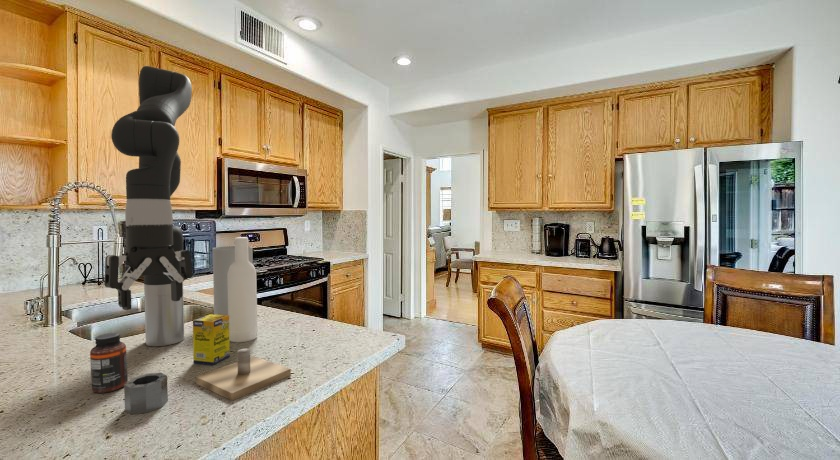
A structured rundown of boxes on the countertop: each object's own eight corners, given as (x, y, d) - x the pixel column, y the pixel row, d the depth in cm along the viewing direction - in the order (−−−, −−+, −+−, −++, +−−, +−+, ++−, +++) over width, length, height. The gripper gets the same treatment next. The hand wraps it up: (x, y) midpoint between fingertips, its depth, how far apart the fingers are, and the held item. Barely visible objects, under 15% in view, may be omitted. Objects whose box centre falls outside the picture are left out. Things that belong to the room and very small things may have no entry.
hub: (121, 407, 72) (120, 382, 72) (157, 394, 77) (156, 370, 77) (135, 417, 69) (134, 390, 68) (172, 402, 74) (171, 377, 74)
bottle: (231, 344, 106) (229, 238, 105) (225, 337, 112) (223, 237, 111) (261, 338, 111) (259, 237, 110) (253, 332, 118) (252, 236, 116)
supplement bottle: (120, 379, 84) (118, 329, 84) (133, 385, 81) (131, 333, 81) (86, 390, 79) (84, 336, 79) (98, 397, 76) (96, 341, 76)
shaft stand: (195, 383, 82) (194, 353, 82) (254, 362, 94) (253, 336, 94) (231, 400, 75) (231, 368, 74) (290, 375, 86) (290, 347, 86)
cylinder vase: (228, 324, 125) (226, 249, 124) (206, 319, 131) (205, 248, 130) (261, 316, 136) (259, 247, 135) (239, 311, 142) (238, 245, 141)
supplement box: (213, 365, 92) (212, 321, 91) (192, 363, 93) (191, 320, 93) (230, 356, 98) (229, 314, 97) (210, 354, 99) (209, 313, 98)
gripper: (178, 222, 82) (181, 296, 82) (96, 223, 70) (99, 310, 70) (197, 222, 78) (199, 300, 79) (113, 223, 66) (116, 315, 66)
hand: (152, 304), depth 74 cm, fingers open, 8 cm apart
